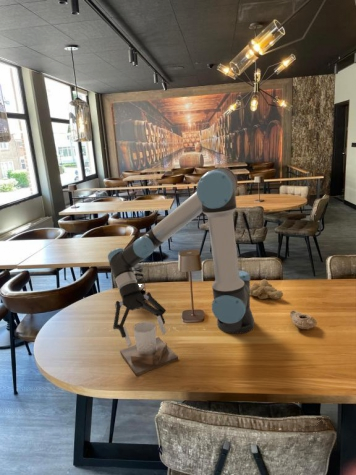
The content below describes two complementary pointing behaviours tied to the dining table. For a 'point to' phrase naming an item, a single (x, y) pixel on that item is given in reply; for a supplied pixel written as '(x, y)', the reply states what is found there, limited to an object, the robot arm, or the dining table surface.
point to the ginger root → (265, 290)
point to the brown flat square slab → (148, 357)
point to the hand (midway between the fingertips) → (147, 339)
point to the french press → (141, 286)
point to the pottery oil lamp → (302, 320)
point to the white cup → (145, 337)
